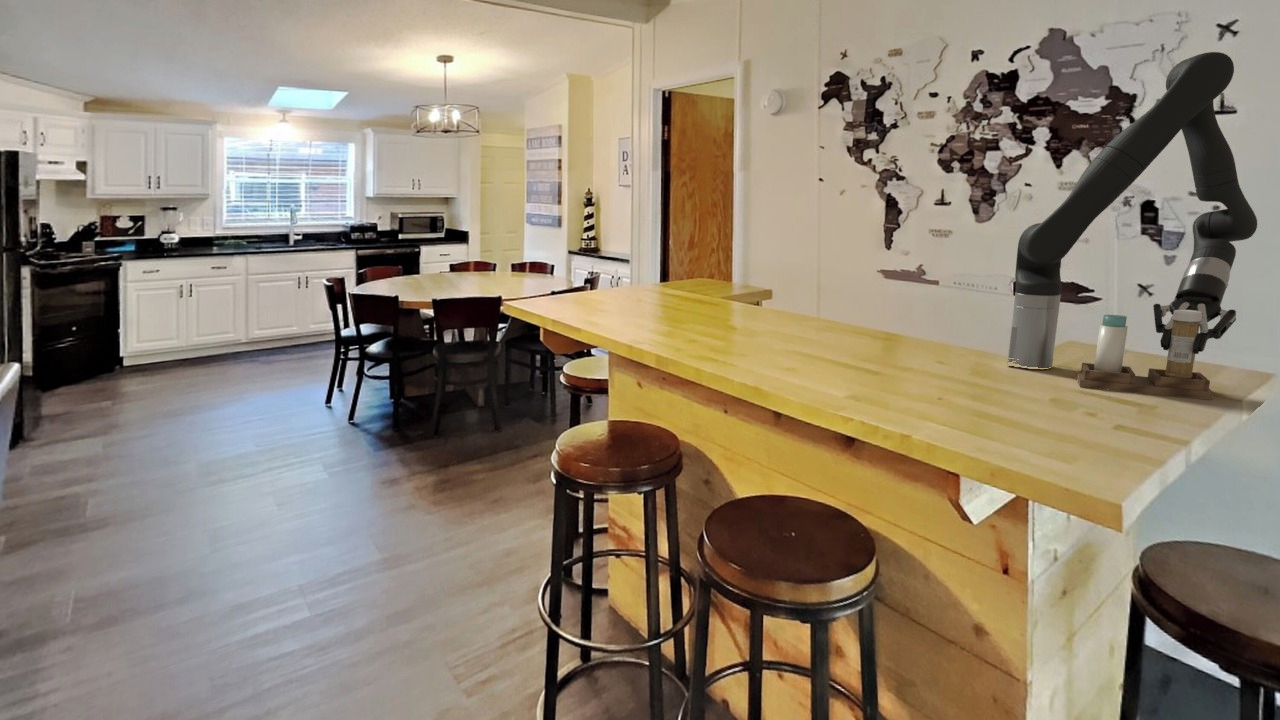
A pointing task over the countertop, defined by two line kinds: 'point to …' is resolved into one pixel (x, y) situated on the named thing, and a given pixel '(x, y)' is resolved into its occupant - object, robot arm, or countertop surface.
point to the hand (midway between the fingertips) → (1180, 349)
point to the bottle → (1111, 344)
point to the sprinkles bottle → (1182, 343)
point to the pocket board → (1145, 382)
